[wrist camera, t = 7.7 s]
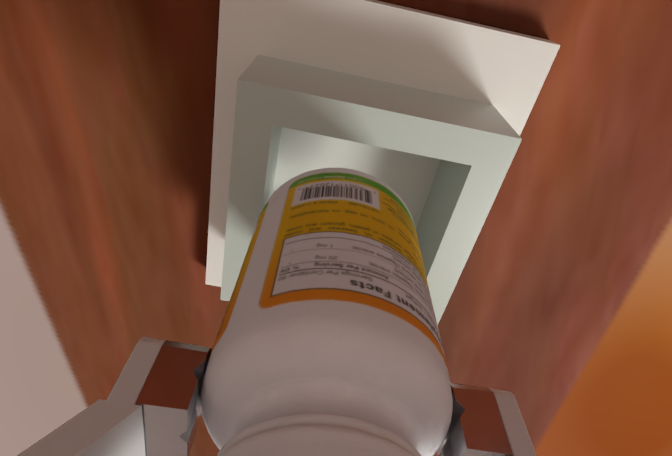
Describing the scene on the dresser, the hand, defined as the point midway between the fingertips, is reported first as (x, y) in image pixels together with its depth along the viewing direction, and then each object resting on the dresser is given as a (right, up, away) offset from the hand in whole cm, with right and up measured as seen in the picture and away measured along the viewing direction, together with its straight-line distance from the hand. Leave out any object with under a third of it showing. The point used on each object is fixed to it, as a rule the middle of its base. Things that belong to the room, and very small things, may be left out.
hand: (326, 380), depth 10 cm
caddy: (+1, +6, +10) cm, 11 cm away
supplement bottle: (0, +3, +5) cm, 6 cm away
